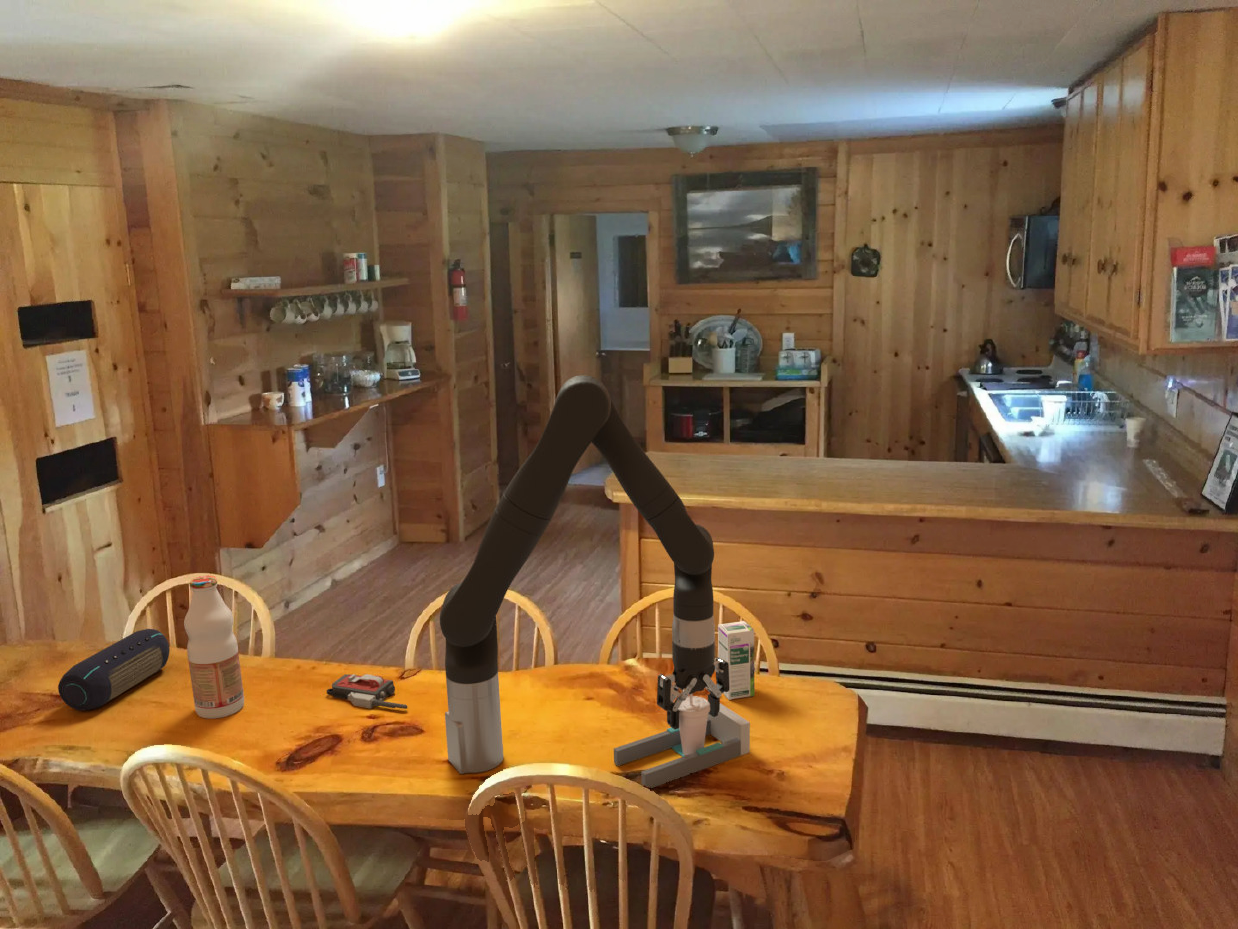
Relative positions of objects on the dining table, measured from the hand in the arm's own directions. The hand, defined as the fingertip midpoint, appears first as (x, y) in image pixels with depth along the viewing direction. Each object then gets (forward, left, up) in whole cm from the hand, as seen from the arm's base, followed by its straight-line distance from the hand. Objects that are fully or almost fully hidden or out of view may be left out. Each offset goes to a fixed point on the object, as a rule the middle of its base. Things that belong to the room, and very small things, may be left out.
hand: (693, 721), depth 181 cm
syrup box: (+21, +15, -7) cm, 27 cm away
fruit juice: (-70, +68, -7) cm, 98 cm away
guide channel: (-3, 0, -7) cm, 7 cm away
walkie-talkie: (-42, +55, -7) cm, 70 cm away
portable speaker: (-86, +90, -7) cm, 125 cm away
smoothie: (0, 0, -7) cm, 7 cm away
